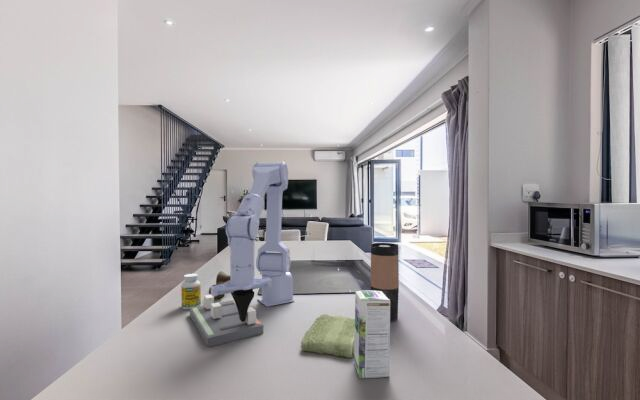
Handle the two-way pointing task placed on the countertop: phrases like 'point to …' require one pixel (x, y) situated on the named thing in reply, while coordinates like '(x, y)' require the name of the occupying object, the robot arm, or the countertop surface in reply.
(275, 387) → the countertop surface
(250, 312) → the handle
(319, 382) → the countertop surface
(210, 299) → the handle right
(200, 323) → the switch panel
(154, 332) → the countertop surface
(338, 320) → the washcloth
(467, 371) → the countertop surface
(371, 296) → the syrup box
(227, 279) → the kendama
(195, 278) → the supplement bottle
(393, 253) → the travel mug
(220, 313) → the handle middle
